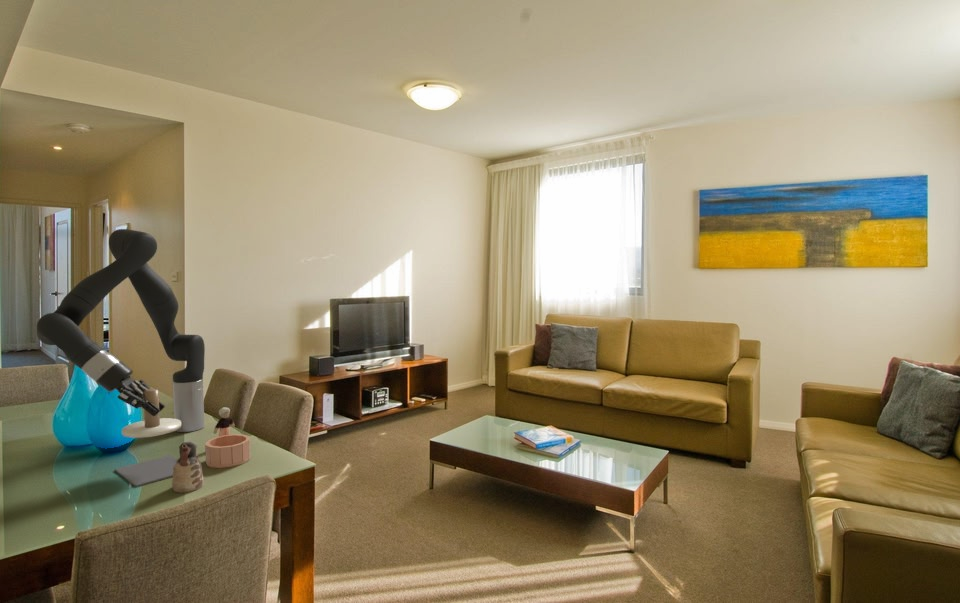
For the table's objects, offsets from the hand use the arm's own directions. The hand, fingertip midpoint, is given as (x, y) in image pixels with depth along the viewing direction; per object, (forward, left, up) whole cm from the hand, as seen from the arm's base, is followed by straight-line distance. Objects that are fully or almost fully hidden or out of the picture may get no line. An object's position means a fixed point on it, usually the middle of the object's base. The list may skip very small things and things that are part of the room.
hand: (159, 411), depth 145 cm
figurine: (+18, 0, -17) cm, 25 cm away
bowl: (+7, +15, -17) cm, 24 cm away
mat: (-1, -2, -17) cm, 17 cm away
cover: (-1, -2, -5) cm, 5 cm away
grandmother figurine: (-6, +20, -17) cm, 27 cm away
